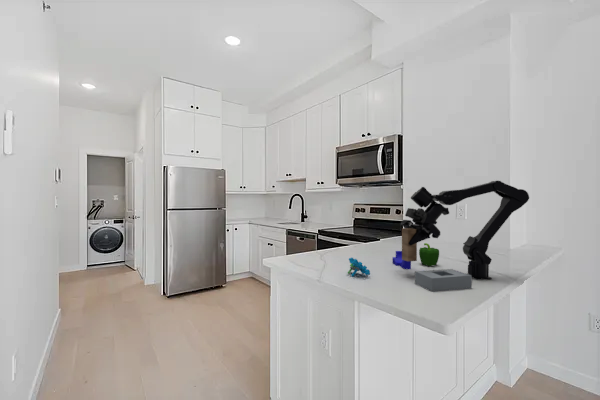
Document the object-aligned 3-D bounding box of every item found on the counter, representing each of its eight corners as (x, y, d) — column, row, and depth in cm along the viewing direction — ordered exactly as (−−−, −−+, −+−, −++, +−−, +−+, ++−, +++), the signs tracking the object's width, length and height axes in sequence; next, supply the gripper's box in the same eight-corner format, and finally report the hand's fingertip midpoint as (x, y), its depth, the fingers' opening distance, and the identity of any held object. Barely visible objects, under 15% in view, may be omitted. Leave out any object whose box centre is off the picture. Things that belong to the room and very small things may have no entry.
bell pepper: (442, 266, 135) (443, 245, 135) (426, 267, 134) (426, 245, 134) (431, 262, 144) (432, 242, 144) (416, 263, 142) (416, 242, 142)
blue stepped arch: (392, 263, 143) (392, 250, 143) (401, 263, 143) (401, 251, 143) (400, 269, 131) (400, 256, 131) (410, 269, 131) (411, 256, 131)
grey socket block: (451, 280, 113) (451, 269, 113) (471, 288, 104) (471, 275, 104) (414, 283, 109) (414, 271, 109) (432, 291, 100) (432, 278, 100)
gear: (375, 274, 116) (358, 256, 115) (367, 286, 114) (349, 268, 113) (361, 271, 127) (345, 255, 125) (353, 282, 125) (337, 266, 124)
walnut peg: (410, 258, 120) (410, 228, 120) (416, 260, 116) (416, 229, 116) (401, 259, 119) (401, 228, 119) (407, 261, 115) (407, 229, 115)
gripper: (404, 200, 128) (381, 227, 125) (433, 201, 109) (407, 232, 107) (420, 218, 129) (398, 245, 127) (451, 222, 111) (426, 253, 109)
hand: (406, 243), depth 117 cm, fingers closed on walnut peg, 4 cm apart
